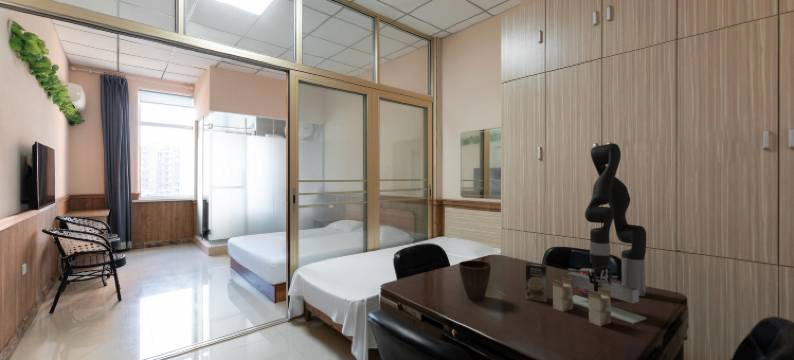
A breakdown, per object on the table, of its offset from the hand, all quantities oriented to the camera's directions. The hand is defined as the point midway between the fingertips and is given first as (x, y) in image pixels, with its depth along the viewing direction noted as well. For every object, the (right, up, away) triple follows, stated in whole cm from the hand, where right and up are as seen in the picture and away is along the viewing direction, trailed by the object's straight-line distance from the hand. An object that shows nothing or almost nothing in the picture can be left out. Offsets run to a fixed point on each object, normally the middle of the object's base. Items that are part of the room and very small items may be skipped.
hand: (600, 292), depth 143 cm
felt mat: (0, -7, 0) cm, 7 cm away
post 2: (-9, -7, -14) cm, 18 cm away
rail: (0, 0, 0) cm, 0 cm away
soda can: (+5, -7, +18) cm, 20 cm away
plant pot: (-50, -8, +16) cm, 53 cm away
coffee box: (-22, -8, +13) cm, 27 cm away
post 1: (-16, -7, +1) cm, 17 cm away
